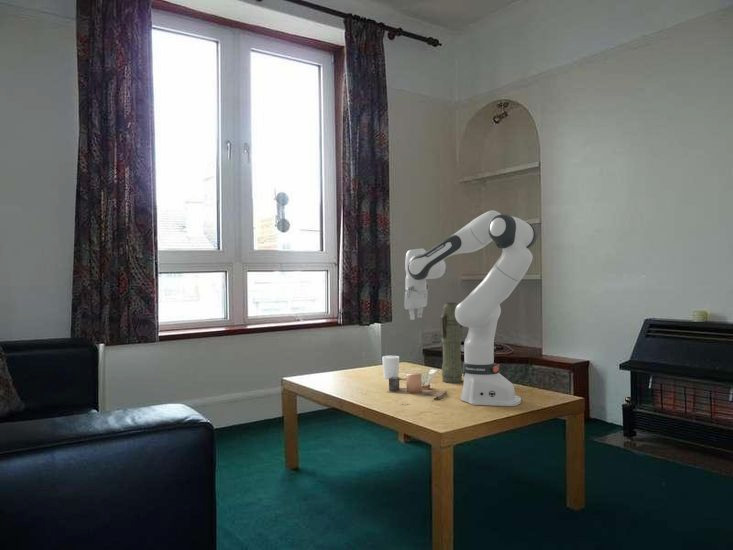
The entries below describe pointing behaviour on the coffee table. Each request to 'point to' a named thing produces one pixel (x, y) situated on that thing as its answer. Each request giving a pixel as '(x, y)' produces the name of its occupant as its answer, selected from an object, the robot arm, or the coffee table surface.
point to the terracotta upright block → (414, 382)
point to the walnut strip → (395, 389)
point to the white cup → (390, 366)
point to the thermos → (451, 344)
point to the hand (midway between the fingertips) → (416, 318)
